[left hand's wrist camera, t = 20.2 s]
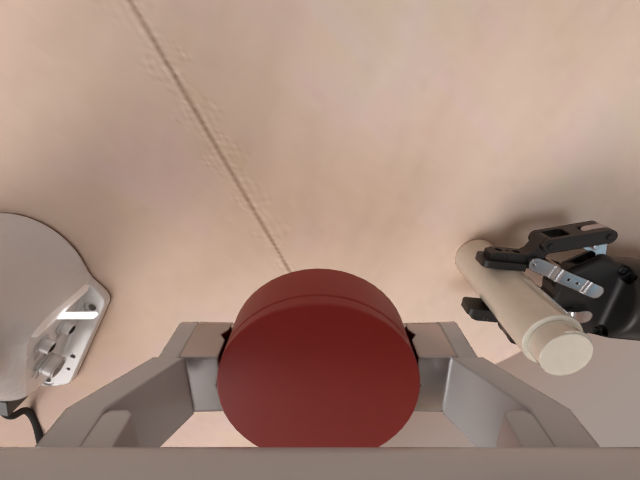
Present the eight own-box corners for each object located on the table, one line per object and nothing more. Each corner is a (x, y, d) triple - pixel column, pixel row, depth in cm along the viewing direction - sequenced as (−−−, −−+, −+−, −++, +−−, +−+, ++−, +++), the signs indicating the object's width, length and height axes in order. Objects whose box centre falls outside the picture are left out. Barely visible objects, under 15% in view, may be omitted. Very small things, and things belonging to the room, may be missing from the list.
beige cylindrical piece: (494, 272, 39) (594, 377, 25) (454, 277, 39) (531, 383, 25) (496, 236, 38) (604, 325, 23) (455, 241, 38) (537, 332, 23)
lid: (213, 280, 10) (191, 318, 8) (398, 255, 9) (415, 289, 8) (253, 417, 11) (242, 471, 10) (409, 399, 11) (424, 452, 10)
